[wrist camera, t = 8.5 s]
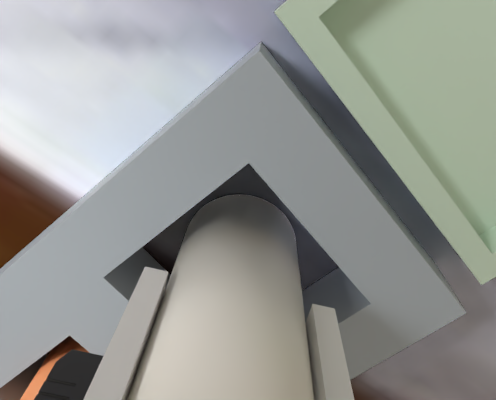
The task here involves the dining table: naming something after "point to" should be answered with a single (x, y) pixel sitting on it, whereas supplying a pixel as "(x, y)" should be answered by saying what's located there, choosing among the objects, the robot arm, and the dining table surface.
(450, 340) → the dining table surface
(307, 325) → the robot arm
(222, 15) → the dining table surface
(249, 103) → the housing
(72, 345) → the orange egg
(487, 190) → the tray
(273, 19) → the dining table surface
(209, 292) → the cartridge
